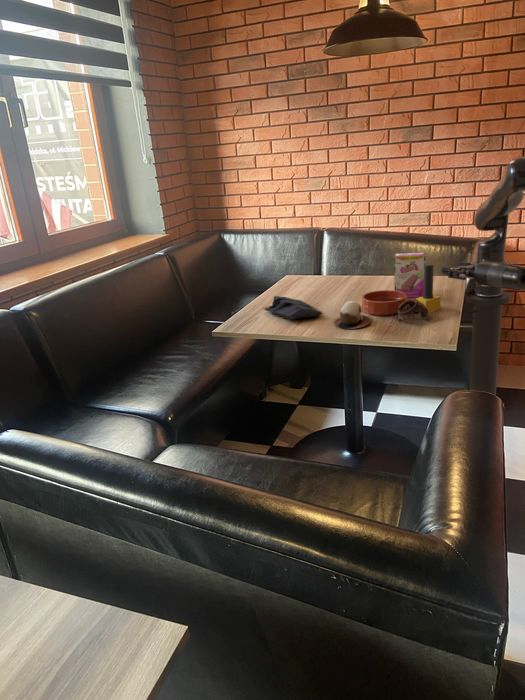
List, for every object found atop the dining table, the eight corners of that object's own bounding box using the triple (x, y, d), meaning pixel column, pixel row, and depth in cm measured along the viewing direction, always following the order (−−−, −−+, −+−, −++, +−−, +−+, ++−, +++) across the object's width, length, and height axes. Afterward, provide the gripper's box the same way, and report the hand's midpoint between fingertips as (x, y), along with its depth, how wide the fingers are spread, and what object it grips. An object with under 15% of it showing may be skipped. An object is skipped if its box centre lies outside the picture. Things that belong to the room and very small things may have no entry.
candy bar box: (394, 299, 202) (393, 256, 197) (395, 295, 207) (394, 253, 201) (425, 298, 199) (425, 254, 193) (425, 294, 204) (425, 251, 198)
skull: (341, 312, 188) (358, 292, 182) (362, 333, 186) (380, 314, 180) (325, 322, 179) (343, 301, 173) (347, 344, 177) (366, 324, 171)
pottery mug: (432, 325, 172) (420, 306, 168) (405, 337, 176) (393, 318, 173) (431, 306, 181) (419, 287, 178) (405, 317, 186) (394, 299, 182)
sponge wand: (429, 306, 190) (430, 261, 184) (440, 309, 186) (441, 263, 180) (415, 310, 187) (415, 265, 181) (426, 313, 183) (427, 267, 177)
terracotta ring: (379, 301, 202) (378, 288, 200) (415, 307, 190) (415, 293, 189) (353, 311, 192) (352, 298, 190) (390, 318, 181) (390, 304, 179)
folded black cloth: (286, 324, 185) (285, 311, 183) (263, 310, 205) (261, 298, 203) (325, 315, 190) (324, 302, 188) (299, 302, 209) (298, 290, 208)
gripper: (511, 257, 162) (465, 252, 175) (481, 266, 155) (436, 260, 168) (509, 281, 165) (464, 274, 178) (479, 291, 158) (435, 283, 171)
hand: (451, 267), depth 173 cm, fingers open, 8 cm apart
